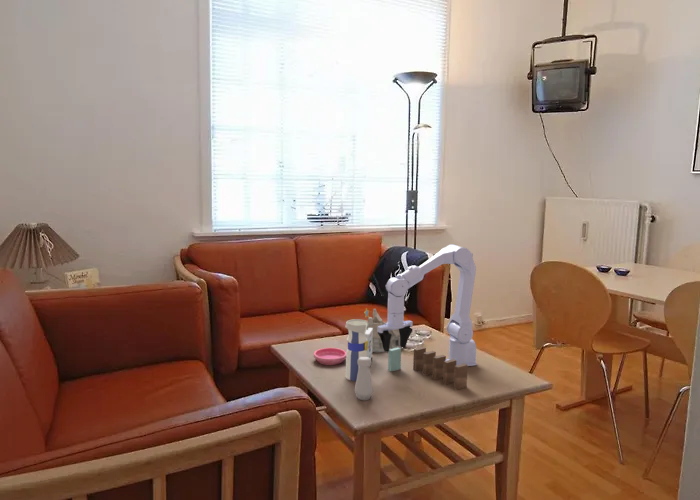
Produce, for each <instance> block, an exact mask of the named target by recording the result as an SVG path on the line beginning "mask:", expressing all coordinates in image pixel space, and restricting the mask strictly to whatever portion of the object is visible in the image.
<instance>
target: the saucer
mask: <svg viewBox="0 0 700 500" xmlns="http://www.w3.org/2000/svg"><path fill="white" fill-rule="evenodd" d="M346 353H347V350H344V349H342V348H338V347H322V348H319V349H316V350H315V351H314V352H313V357H314V358H315V360H316V361H317V362H318V363H319V364H321V365H325V366H335V365H339V364H341V363H343V361H344V360H345V361H346Z"/></svg>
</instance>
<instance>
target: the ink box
mask: <svg viewBox="0 0 700 500" xmlns="http://www.w3.org/2000/svg"><path fill="white" fill-rule="evenodd" d="M365 335H366V338H367V341H368V349H367V357H369V358H370V359H371V360H372V357H373V352H372V343H373V328H368V330H367V329H366V332H365Z"/></svg>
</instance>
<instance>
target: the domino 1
mask: <svg viewBox="0 0 700 500" xmlns="http://www.w3.org/2000/svg"><path fill="white" fill-rule="evenodd" d="M401 361H402V348H393V349H389V352H388V362H387V363H388V364H387V365H388V367H387V368H388V369H387V371H390V372H395V371H399V370H401V368H402V362H401Z"/></svg>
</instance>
